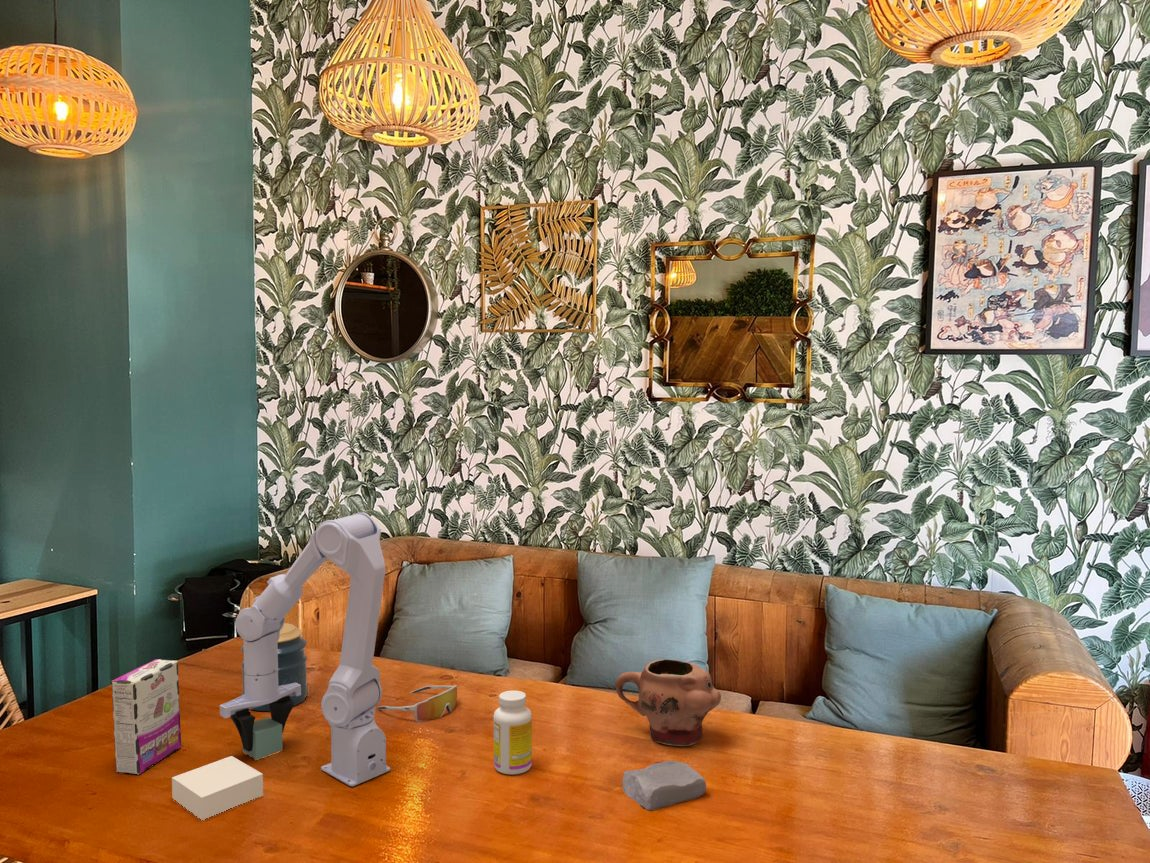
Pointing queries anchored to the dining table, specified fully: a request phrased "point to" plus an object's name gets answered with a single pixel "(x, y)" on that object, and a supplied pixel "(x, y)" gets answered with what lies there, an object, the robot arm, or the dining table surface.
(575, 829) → the dining table surface
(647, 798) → the stone block
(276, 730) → the teal cube
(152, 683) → the candy bar box
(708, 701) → the sculpted ceramic mug
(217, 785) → the cream block
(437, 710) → the sunglasses
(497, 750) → the supplement bottle
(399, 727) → the dining table surface
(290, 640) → the canister
